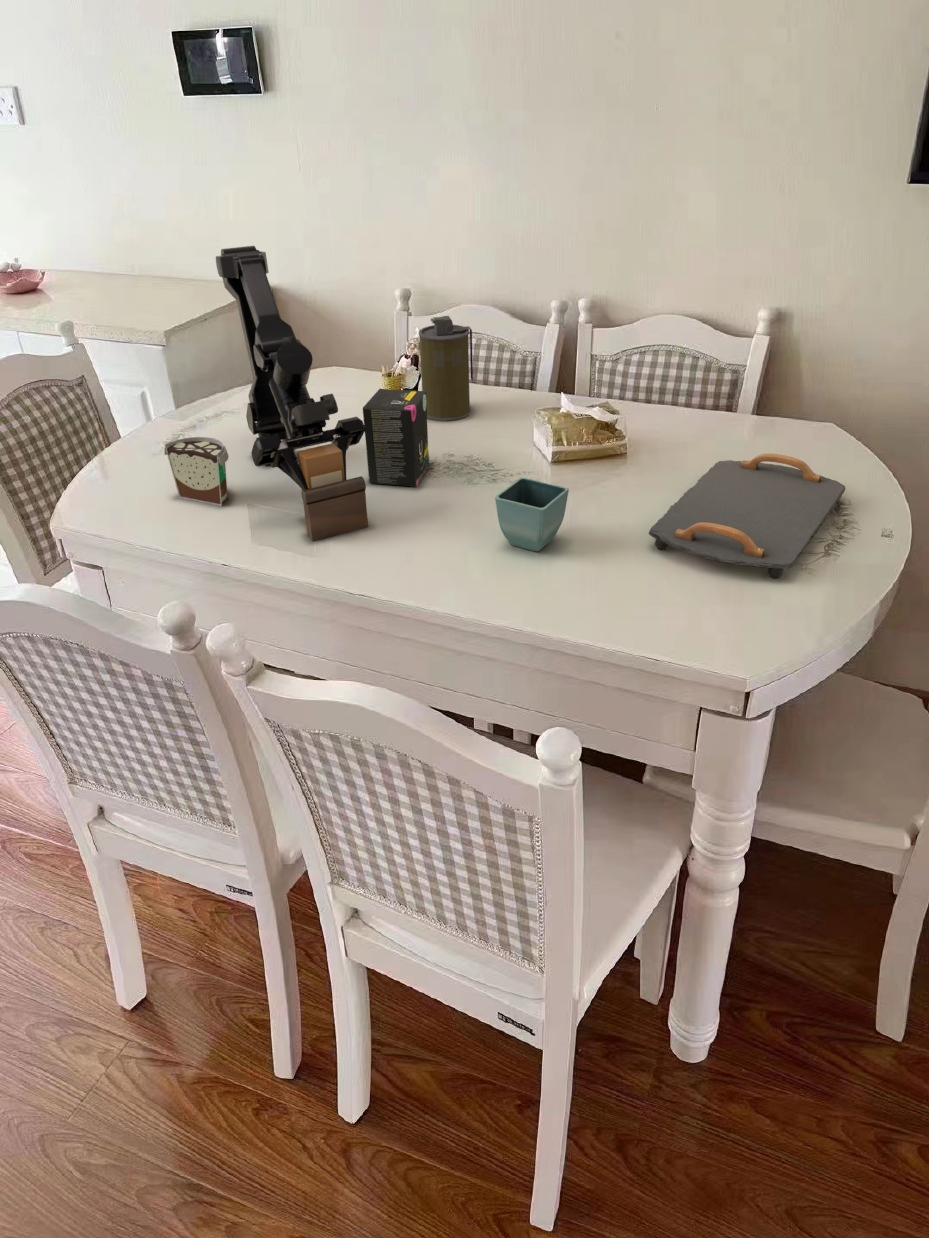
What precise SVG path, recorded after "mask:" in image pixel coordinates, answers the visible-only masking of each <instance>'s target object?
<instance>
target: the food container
mask: <svg viewBox="0 0 929 1238" xmlns="http://www.w3.org/2000/svg"><path fill="white" fill-rule="evenodd" d="M163 451H164V452H163V453H164V456H167V459H168V462H169V466H170V470H171V473H172V477H173V480H174V482H175V483H174V484H175V487H176V491H177V494H178V498H179V499H185V500H189V501H193V502H194V501H195V502H199V503H204V504H208V505H214V506H218V507H223V506H224V505H225V504H226V503H227V501H228V500H229V498H228V484H227V467H226V463H227V461H228V460H229V456H230V455H229V452H228V450H227V448H226V446H225V445H224V443H223V442H222V441H221V440H219V439H216V438H214V437H207V436H191V437H185V438H184V437H183V438H179V439H176V440H172V441H170V442H167V443H165V444H164V448H163Z"/></svg>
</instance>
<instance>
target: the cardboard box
mask: <svg viewBox="0 0 929 1238" xmlns="http://www.w3.org/2000/svg"><path fill="white" fill-rule="evenodd" d="M296 456H297V463H298V465H299V467H300V469H301V471H302V474H303V476H304V478H305V480H306V483H307V487H308V489H310V488H314V487H319V486H323V485H327V484H331V483H335V482H340V481H344V480H345V476H344V466H343V455H342V451H341V450H340V449H339V448H338V447H337V446H335V445H334V444H333V443H332V444H331V443H327V444H324V445H323V444H322V445H319V446H318V445H317V446H314V447H308V448H305V449H301V450H296ZM300 490H301V491H302V489H301V488H300ZM302 505H303V504H302ZM303 507H304V505H303ZM303 513H304V512H303ZM304 515H305V513H304Z"/></svg>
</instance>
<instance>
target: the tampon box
mask: <svg viewBox="0 0 929 1238" xmlns="http://www.w3.org/2000/svg"><path fill="white" fill-rule="evenodd" d="M362 416H363V424H364V426H365V429H366V430H365V432H364V436H365V449H366V460H367V461H366V462H367V472H368V473H367V474H368V483H369V484H373V485H375V484H376V485H389V486H402V487H418V486H419V483H420V482H421V480H422V478H423V477H424V475H425V473H426V471H427V470H428V468H429V467H430V457H429V436H428V435H429V434H428V433H429V432H428V418H427V398H426V391H422V390H410V389H390V388H389V389H387V388H379V389H377V391H376V392H375V393H374V394H373V395H372V397H370V399H369V400H368V401H367V402H366V403H365V405H363V407H362Z"/></svg>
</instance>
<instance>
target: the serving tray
mask: <svg viewBox="0 0 929 1238" xmlns="http://www.w3.org/2000/svg"><path fill="white" fill-rule="evenodd" d="M763 462H764V463H763ZM765 462H770V463H765ZM774 463H778V464H774ZM781 464H783V465H781ZM785 465H788V466H785ZM844 492H846V486H845V484H842V483H841V482H839V481H838V480H834V479H831V478H828V477H825V476H823V475H821V474H818V473H815V472H813V470H812V469H811V467H810V466H809V465H808V464H807V463H806V462H805V461H803V460H801V459H799V458H796V457H793V456H789V455H784V454H779V453H761V454H759V455H757V456H755V457H753V458H752V459H750V460H744V459H743V460H732V459H729V460H719V461H717V462H716V463H714V465H713V466H712V467H710V469H708V471H707V472H705V473H704V474H703V475H702V476H701V477H700V478H699V479H698V480H697V482H696V483H695V484H694V485H693V486H692V487H690V488H689V489H687V490H686V491H685V492H683V495H682V496H681V497H680V498H679V499H678V500H677V501H676V502H674V503H673V505H670V507H669V508H668V509H667V511H666V513H664V514H663V516H662V517H660V518H659V519H658V520H657V522H656V523H654V525H652V526H651V528H650V530H649V531H648V535H649V536H651V537H652V538H653V539H655V541H654V543H655V547H656V549H657V550H658V551H665V550H667V549H668V547H672V548H674V549H677V550H679V551H682V552H685V553H689V554H691V555H692V556H696V557H700V558H704V559H707V560H712V561H716V562H720V563H725V564H732V565H735V566H737V565H738V566H743V567H744V566H746V567H755V568H763V569H767V573H768V575H769V577H770V578H772V580H773V579H774V580H777V579H779V578H780V577H781V576H782V575H783V573H784V569H790V568H792V567H793V566H794V565H795V564H796V563H797V561H798V559H800V557H801V555H803V552H804V551H805V549H806V548H807V547H808V545H809V544H810V543H811V541H812V539H813V538H814V537H815V535H816V534H817V533H818V531H819V530H820V528H821V527H822V526H823V523H824V522H825V521H826V519H827V518H828V517H829V515H830V513H832V511H833V510H834V507H835V506H836V504H837V503H838V502H839V501H840V499H841V498H842V496H843V495H844Z"/></svg>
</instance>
